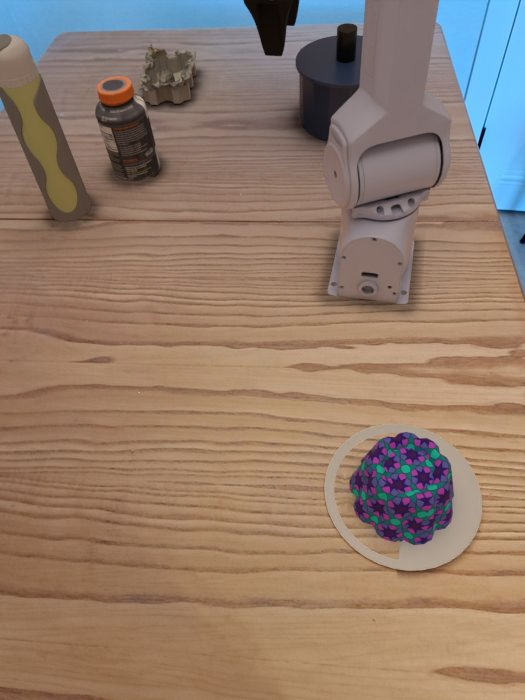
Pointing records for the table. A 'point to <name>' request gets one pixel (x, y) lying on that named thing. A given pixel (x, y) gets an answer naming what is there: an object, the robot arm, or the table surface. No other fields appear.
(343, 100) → the pot
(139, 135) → the pill bottle
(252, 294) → the table surface
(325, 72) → the lid
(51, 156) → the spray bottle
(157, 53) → the egg carton
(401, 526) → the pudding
